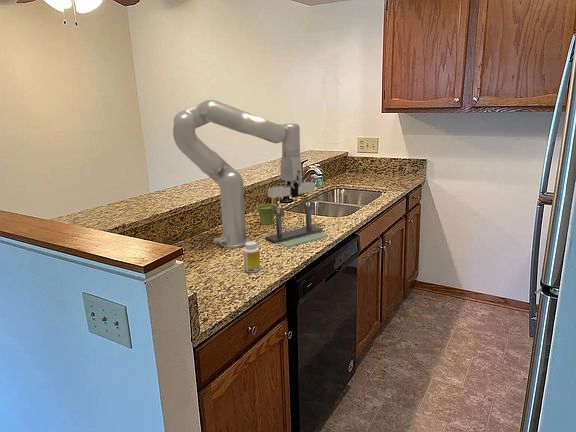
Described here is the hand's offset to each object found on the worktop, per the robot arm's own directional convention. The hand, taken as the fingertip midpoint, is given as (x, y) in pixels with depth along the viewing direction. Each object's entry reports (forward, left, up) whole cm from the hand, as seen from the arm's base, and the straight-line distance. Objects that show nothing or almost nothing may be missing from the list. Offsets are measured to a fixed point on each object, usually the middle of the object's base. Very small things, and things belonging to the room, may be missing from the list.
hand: (291, 195), depth 191 cm
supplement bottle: (-35, -23, -18) cm, 45 cm away
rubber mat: (-1, -8, -18) cm, 20 cm away
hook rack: (0, 0, -18) cm, 18 cm away
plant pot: (+2, +25, -18) cm, 31 cm away
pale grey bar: (0, 0, +1) cm, 1 cm away
